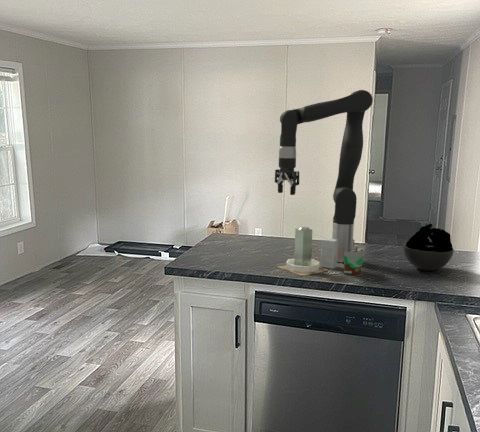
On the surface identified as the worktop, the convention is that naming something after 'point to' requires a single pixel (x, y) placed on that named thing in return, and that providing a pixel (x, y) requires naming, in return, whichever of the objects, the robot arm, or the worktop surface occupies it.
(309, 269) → the bowl
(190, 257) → the worktop surface
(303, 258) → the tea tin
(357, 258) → the food container
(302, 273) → the board
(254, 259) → the worktop surface
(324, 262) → the skincare box
